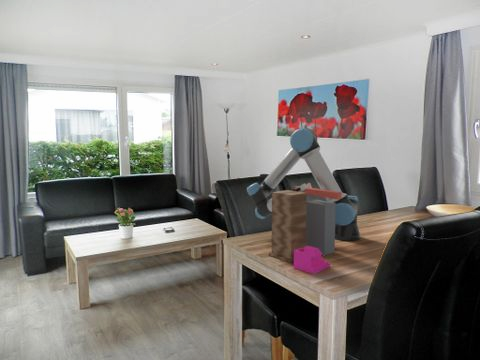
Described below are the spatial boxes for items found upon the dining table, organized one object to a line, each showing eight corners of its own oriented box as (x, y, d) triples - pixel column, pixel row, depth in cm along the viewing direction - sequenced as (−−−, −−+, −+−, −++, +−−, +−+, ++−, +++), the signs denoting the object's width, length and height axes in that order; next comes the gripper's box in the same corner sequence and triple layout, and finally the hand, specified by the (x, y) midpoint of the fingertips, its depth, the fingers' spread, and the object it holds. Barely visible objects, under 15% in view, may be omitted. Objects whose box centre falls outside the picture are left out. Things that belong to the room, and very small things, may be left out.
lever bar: (293, 192, 197) (293, 186, 196) (297, 191, 199) (297, 186, 198) (337, 199, 177) (337, 192, 177) (341, 198, 179) (341, 192, 179)
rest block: (304, 249, 192) (304, 201, 189) (314, 246, 197) (315, 199, 194) (324, 255, 183) (325, 204, 180) (334, 252, 188) (335, 202, 185)
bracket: (314, 274, 160) (314, 249, 158) (293, 268, 167) (294, 244, 166) (330, 266, 168) (330, 243, 167) (310, 261, 175) (310, 238, 174)
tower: (268, 255, 183) (268, 192, 180) (285, 250, 191) (286, 189, 187) (291, 262, 173) (292, 195, 169) (308, 257, 181) (309, 192, 177)
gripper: (289, 207, 212) (321, 190, 196) (269, 211, 202) (300, 194, 185) (284, 195, 214) (315, 177, 198) (264, 198, 204) (294, 179, 187)
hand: (308, 185), depth 191 cm, fingers closed on lever bar, 3 cm apart
